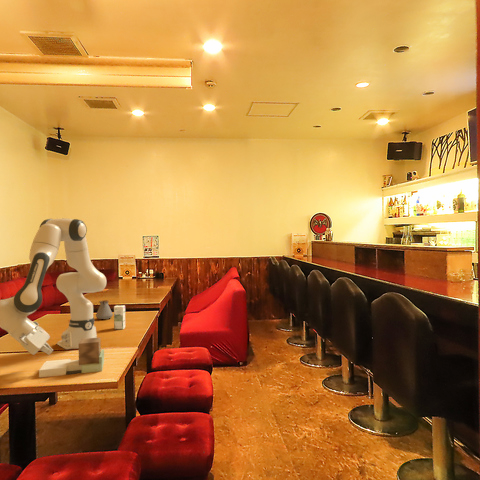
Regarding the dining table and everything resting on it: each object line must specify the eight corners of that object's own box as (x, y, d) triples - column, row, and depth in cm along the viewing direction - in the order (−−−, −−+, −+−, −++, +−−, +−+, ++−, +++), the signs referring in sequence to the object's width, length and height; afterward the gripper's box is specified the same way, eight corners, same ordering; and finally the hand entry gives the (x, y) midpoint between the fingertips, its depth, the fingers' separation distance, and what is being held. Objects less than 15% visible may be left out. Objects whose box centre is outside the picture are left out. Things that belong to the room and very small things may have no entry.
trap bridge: (39, 377, 150) (39, 362, 150) (46, 367, 162) (45, 354, 162) (101, 371, 157) (101, 356, 157) (104, 362, 168) (103, 349, 168)
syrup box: (125, 327, 238) (125, 304, 238) (123, 329, 232) (122, 306, 232) (116, 327, 238) (116, 305, 238) (113, 329, 232) (113, 306, 232)
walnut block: (78, 364, 156) (78, 343, 156) (81, 359, 164) (81, 338, 164) (98, 363, 158) (98, 342, 158) (100, 357, 166) (100, 337, 166)
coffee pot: (96, 318, 269) (96, 297, 269) (113, 316, 273) (112, 296, 273) (94, 324, 249) (94, 301, 249) (112, 322, 252) (112, 300, 252)
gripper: (23, 331, 145) (51, 354, 148) (37, 320, 165) (61, 340, 168) (11, 344, 144) (39, 366, 147) (26, 331, 164) (50, 351, 166)
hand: (51, 352), depth 157 cm, fingers closed
